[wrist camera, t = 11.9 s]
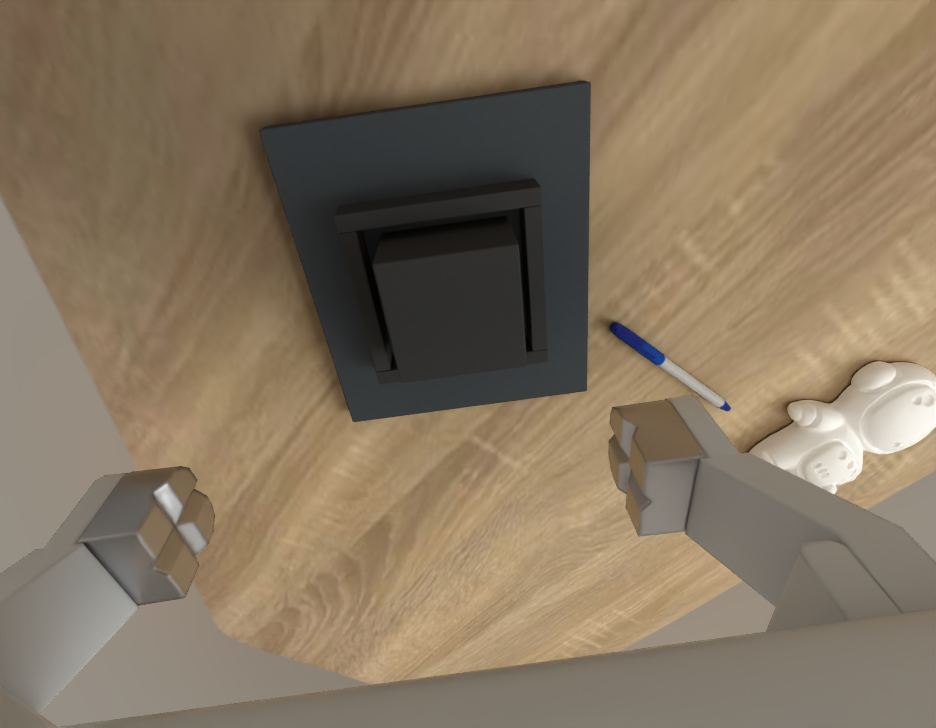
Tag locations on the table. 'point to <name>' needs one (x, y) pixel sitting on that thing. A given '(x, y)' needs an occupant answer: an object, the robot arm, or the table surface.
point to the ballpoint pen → (666, 364)
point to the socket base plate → (437, 203)
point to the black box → (452, 298)
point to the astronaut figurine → (854, 424)
